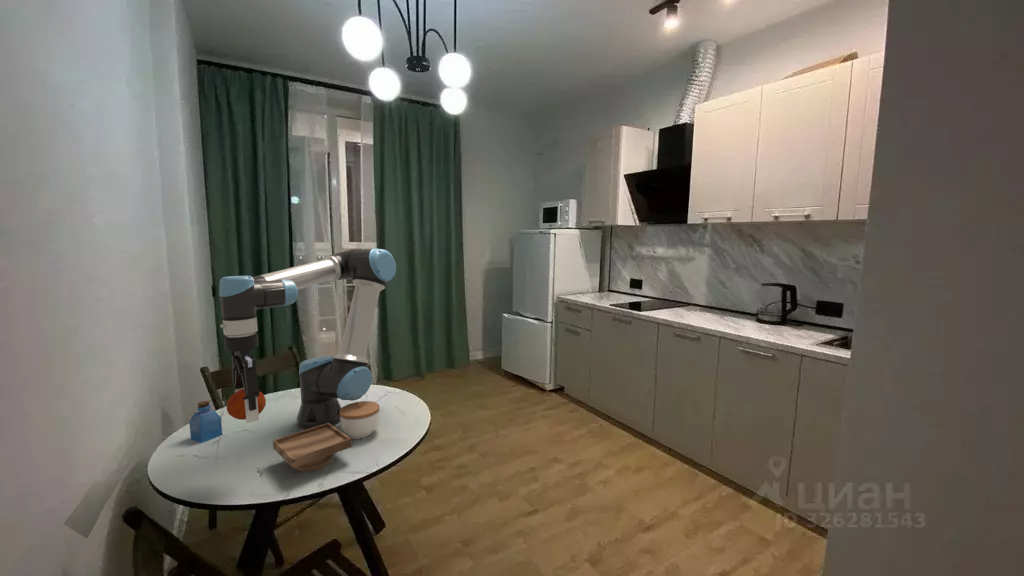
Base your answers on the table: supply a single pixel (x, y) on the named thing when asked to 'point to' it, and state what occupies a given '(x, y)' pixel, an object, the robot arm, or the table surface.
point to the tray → (312, 447)
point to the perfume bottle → (205, 423)
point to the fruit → (242, 404)
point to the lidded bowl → (359, 418)
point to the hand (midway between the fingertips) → (247, 415)
